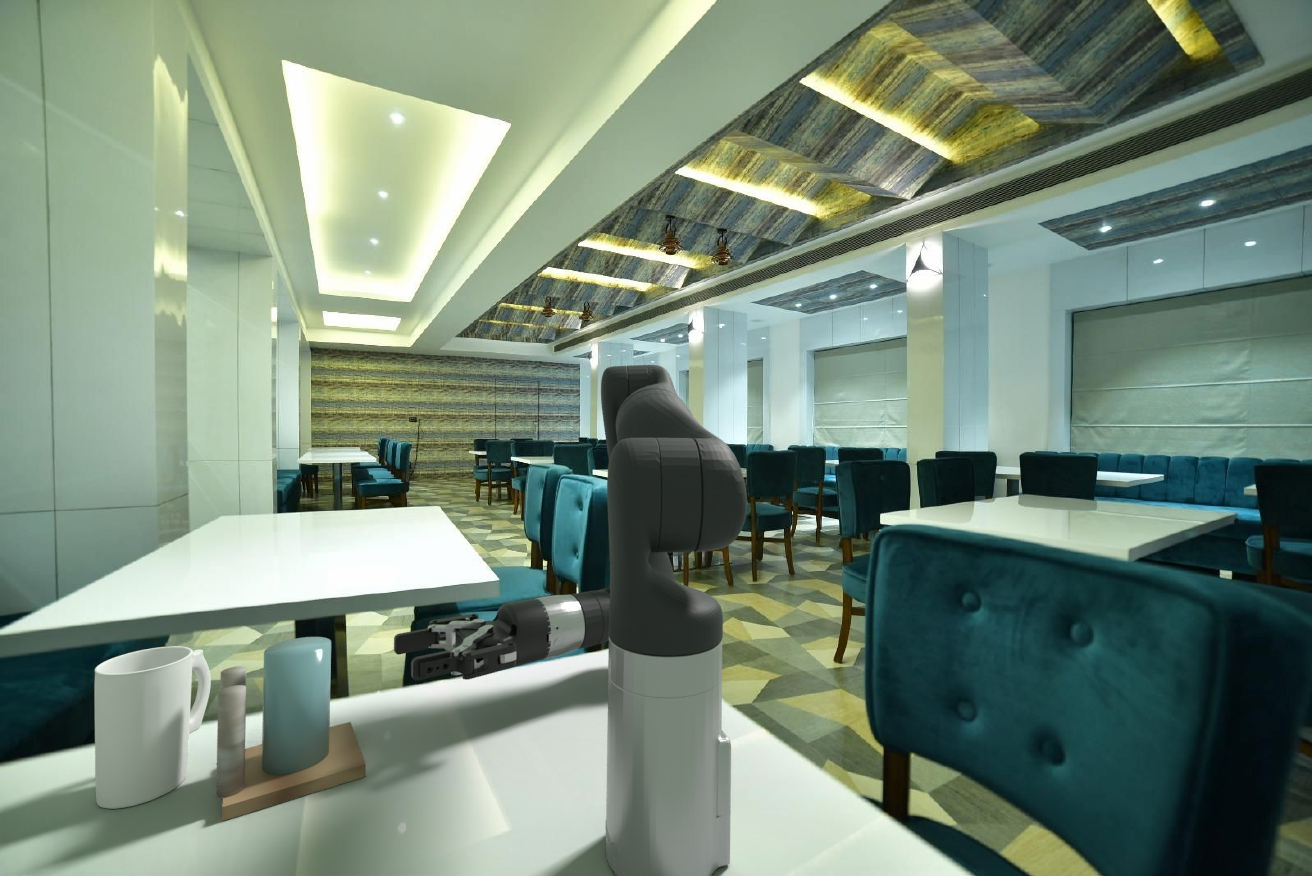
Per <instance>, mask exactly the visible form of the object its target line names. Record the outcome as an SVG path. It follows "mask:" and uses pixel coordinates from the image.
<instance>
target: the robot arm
mask: <svg viewBox="0 0 1312 876" xmlns="http://www.w3.org/2000/svg"><path fill="white" fill-rule="evenodd" d="M600 402H601V413H602V419H603V420H602V421H603V429H604V434H605V435H604V436H605V442H606V449H607V456H608V467H607V478H606V481H607V482H606V487H607V488H606V489H607V490H606V491H607V493H606V494H607V500H606V501H607V523H608V543H609V544H608V546H609V572H610V573H609V575H610V576H609V577H610V578H609V586H607V587H603V588H601V589H599V590H589V591H582V592H577V593H572V594H570V593H569V594H556V595H555V594H554V595H547V596H541V597H535V598H530V599H524V600H518V601H513V602H505V603H503V604H502V605H500V607H498V609H497V612H496V615H495V617H494V618H493V619H492V620H486V619H484V618H479V615H480V614H479V613H471V614H463V615H457V616H451V617H444V618H438V619H432V620H430V621H429V625H428V626H427V628H423V629H417V630H412V631H411V630H410V631H407V632H405V631H404V632H401V633H397V634H395V635H394V637H393V651H394V653H395V654H396V655H404V654H409V653H413V652H418V651H424V650H428V649H444V651H439V652H433V653H429V654H424V655H419V656H415V657H414V658H412V659H411V663H410V664H411V665H410V674H411V677H412V679H413V680H414V681H421V680H425V679H430V678H436V677H439V676H443V675H447V674H451V676H458V675H462V677H461V678H462V680H464V681H465V680H467V681H468V680H473V679H475V678H479V677H483V676H487V675H491V674H495V673H498V672H502V671H505V670H509V669H512V668H516V667H520V666H525V665H527V664H532V663H535V662H539V661H544V660H547V659H552V658H557V657H559V656H564V655H566V654H569V653H571V652H574V651H577V650H581V649H586V648H589V647H593V646H597V645H600V644H603V643H606V642H608V660H607V661H608V662H607V663H608V667H607V668H608V669H607V670H608V671H607V673H608V674H607V675H608V677H607V679H608V681H607V731H606V732H607V735H606V736H607V740H606V742H607V743H606V746H607V747H606V750H607V751H606V796H605V797H606V800H605V801H606V805H605V807H606V809H605V810H606V815H605V852H606V853H605V855H606V859H607V862H608V864H609V867H610V869H611V870H612V871H613V872H614V874H615V875H616V876H712V875H713V874H714V873H715V871H716V870H717V869H718V868H720V867H724V866H728V865H730V863H731V813H732V812H731V810H732V809H731V808H732V807H731V805H732V803H731V802H732V800H731V799H732V798H731V796H732V795H731V794H732V793H731V791H732V787H731V786H732V744H731V743H732V742H731V740H730V738H729V737H728V736H727V735H726V733H725V732H724V731H723V729H722V728H723V727H722V726H723V725H722V722H723V721H722V720H723V716H722V715H723V708H722V707H723V706H722V705H723V634H724V632H723V631H724V628H723V627H724V618H723V617H724V615H723V611H722V607H721V604H720V602H719V601H718V600H717V599H716V598H715V597H713V596H711V595H710V594H708V593H706V592H705V591H702V590H699V589H696V588H694V587H692V586H688V585H685V584H682V583H679V582H677V579H676V577H675V574H674V570H673V567H672V562H671V560H670V557H669V555H668V553H693V552H694V553H702V552H712V551H713V552H714V551H717V550H721V549H724V548H726V547H728V546H729V545H732V544H733V542H735V541H736V539H737V538H738V537H739V535H740V533H741V532H742V530H743V528H744V524H745V522H746V517H747V510H748V496H747V495H748V493H747V487H746V483H745V478H744V474H743V472H742V468H741V466H740V463H739V462H738V460H737V457H736V455H735V454H734V452H733V450H732V449H731V448H730V446H729V445H728V444H727V443H726V442H725V441H724V440H723V439H721V438H720V437H718V436H717V435H715V434H714V433H712V432H711V431H709V430H708V429H706V428H705V427H704V426H703V425H701V424H700V422H699V421H698V420H697V419H696V418H695V417H694V415H693V414H692V412H691V410H690V409H689V407H688V406H687V405H686V403H685V402H684V401H683V400H682V398H681V397H680V395H678V394H677V392H676V389H675V386H674V382H673V380H672V377H671V375H670V373H669V372H668V370H667V369H666V368H665V367H664V366H661V365H659V364H658V365H657V364H638V365H637V364H636V365H629V364H628V365H615V366H609V367H606V368H605V369H604V371H603V373H602V375H601V380H600ZM442 633H443V634H442Z"/></svg>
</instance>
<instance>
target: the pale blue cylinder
mask: <svg viewBox="0 0 1312 876" xmlns="http://www.w3.org/2000/svg"><path fill="white" fill-rule="evenodd" d="M331 661H332V640H331V639H330V638H327V637H323V636H305V637H298V638H292V639H287V640H284V641H280V642H277V643H275V644H272V645H270V646H268V647H267V648H266V649H265V650H264V651H263V678H262V679H263V683H262V685H263V686H262V733H261V735H262V737H261V745H262V770H263V771H264V772H265V773H267V774H271V775H286V774H292V773H296V772H300V771H303V770H305V769H308V768H310V767H312V766H314V765H316V764H318V763H319V762H321V761H322V760H323V759H324V758H325V757H326V756H327V755H328V753H329V730H330V727H331V726H330V724H331V721H330V720H331V715H330V714H331V675H332V674H331V673H332V671H331V669H332V668H331V666H332V665H331V664H332V662H331Z"/></svg>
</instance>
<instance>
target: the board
mask: <svg viewBox="0 0 1312 876" xmlns="http://www.w3.org/2000/svg"><path fill="white" fill-rule="evenodd" d="M219 684H220V685H219V687H220V690H219V691H218V692H217V736H216V737H217V739H216V740H217V743H216V789H215V790H216V793H215V794H216V798H220V799H222V805H221V806H222V811H221V816H222V817H221V822H224V821H227V820H230V819H234V818H237V817H241V816H243V815H246V814H249V813H252V812H255V811H259V810H262V809H263V810H264V809H265V808H269V807H272V806H275V805H278V804H283V803H284V802H288V801H292V800H295V799H298V798H301V797H304V796H307V795H311V794H314V793H317V792H320V791H325V790H326V789H330V788H334V787H336V786H339V785H342V784H346V783H349V782H351V781H352V782H353V781H356V780H359V779H362V778H365V777H366V769H367V768H366V767H367V766H366V765H367V764H366V761H365V759H364V756H363V753H362V750H361V747H360V745H359V742H358V739H357V736H356V733H355V731H354V728H353V725H352V723H351V721H349V722H344V723H340V724H337V725H333V726H330V730H329V753H328V755H327V756H326V757H325V758H324V759H323V760H322V761H321V762H319V763H318V764H316V765H314V766H312V767H310V768H308V769H305V770H303V771H300V772H296V773H292V774H286V775H271V774H267V773H265V772H264V771H263V770H262V744H259V745H254V746H250V747H247V748H246V726H247V725H246V723H247V722H246V719H247V718H246V717H247V714H246V712H247V711H246V710H247V667H246V666H243V665H241V666H237V665H236V666H233V667H228V668H225V669H223V670H222V671H220V683H219Z"/></svg>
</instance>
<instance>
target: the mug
mask: <svg viewBox="0 0 1312 876" xmlns="http://www.w3.org/2000/svg"><path fill="white" fill-rule="evenodd" d="M193 672H194V674H195V675H196V677H197V678H196V679H197V683H198V684H197V691H196V692H197V693H196V696H195V700H194V703H193V705H192V707H191V704H192V703H191V701H192V700H191V699H192V682H193V681H192V679H193ZM211 678H212V677H211V671H210V668H209V665H208V662H207V660H206V659H205V656H204V651H203V649H194V650H193V649H192V648H190V647H187V646H182V645H181V646H180V645H179V646H178V645H177V646H176V645H174V646H170V645H169V646H160V647H152V648H148V649H141V650H136V651H132V652H128V653H125V654H122V655H118V656H115V657H112V658H110V659H107V660H105V661H103V662H101V663H100V664H98V665H97V666H96V667H95V668H94V749H95V750H94V751H95V752H94V755H95V756H94V771H95V772H94V773H95V777H94V778H95V781H94V782H95V801H96V804H97V806H99V807H101V808H103V809H111V810H114V809H115V810H116V809H123V808H130V807H133V806H138V805H140V804H144V803H148V802H149V801H153V800H155V799H158V798H159V797H162V796H164V795H167V794H168V793H169V792H171V791H173V790H175V789H176V788H177V787H179V786H180V785H181V784H182V783H183V782H184V780H186V777H187V775H188V764H189V762H188V761H189V747H190V745H189V744H190V743H189V741H190V735H191V734H192V733H194V732H196V731H198V730H199V729H200V728H201V726H202V723H203V719H204V717H205V712H206V709H207V705H208V703H209V697H210V692H211V687H212V686H211V683H212V680H211Z"/></svg>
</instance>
